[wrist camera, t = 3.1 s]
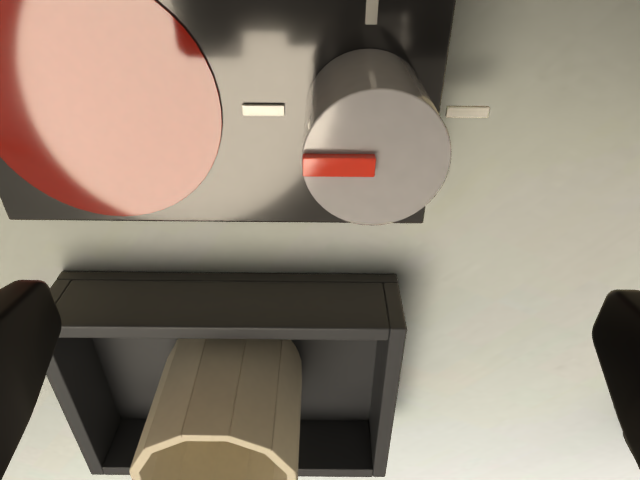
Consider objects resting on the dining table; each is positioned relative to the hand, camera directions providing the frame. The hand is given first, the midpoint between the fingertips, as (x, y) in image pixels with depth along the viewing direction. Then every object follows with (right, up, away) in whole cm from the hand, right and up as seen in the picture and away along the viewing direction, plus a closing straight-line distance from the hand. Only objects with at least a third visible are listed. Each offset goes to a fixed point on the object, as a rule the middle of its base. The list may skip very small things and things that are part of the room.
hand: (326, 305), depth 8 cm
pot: (-4, -5, +18) cm, 19 cm away
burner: (-8, +6, +9) cm, 13 cm away
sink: (-4, -5, +18) cm, 19 cm away
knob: (+1, +5, +8) cm, 10 cm away
